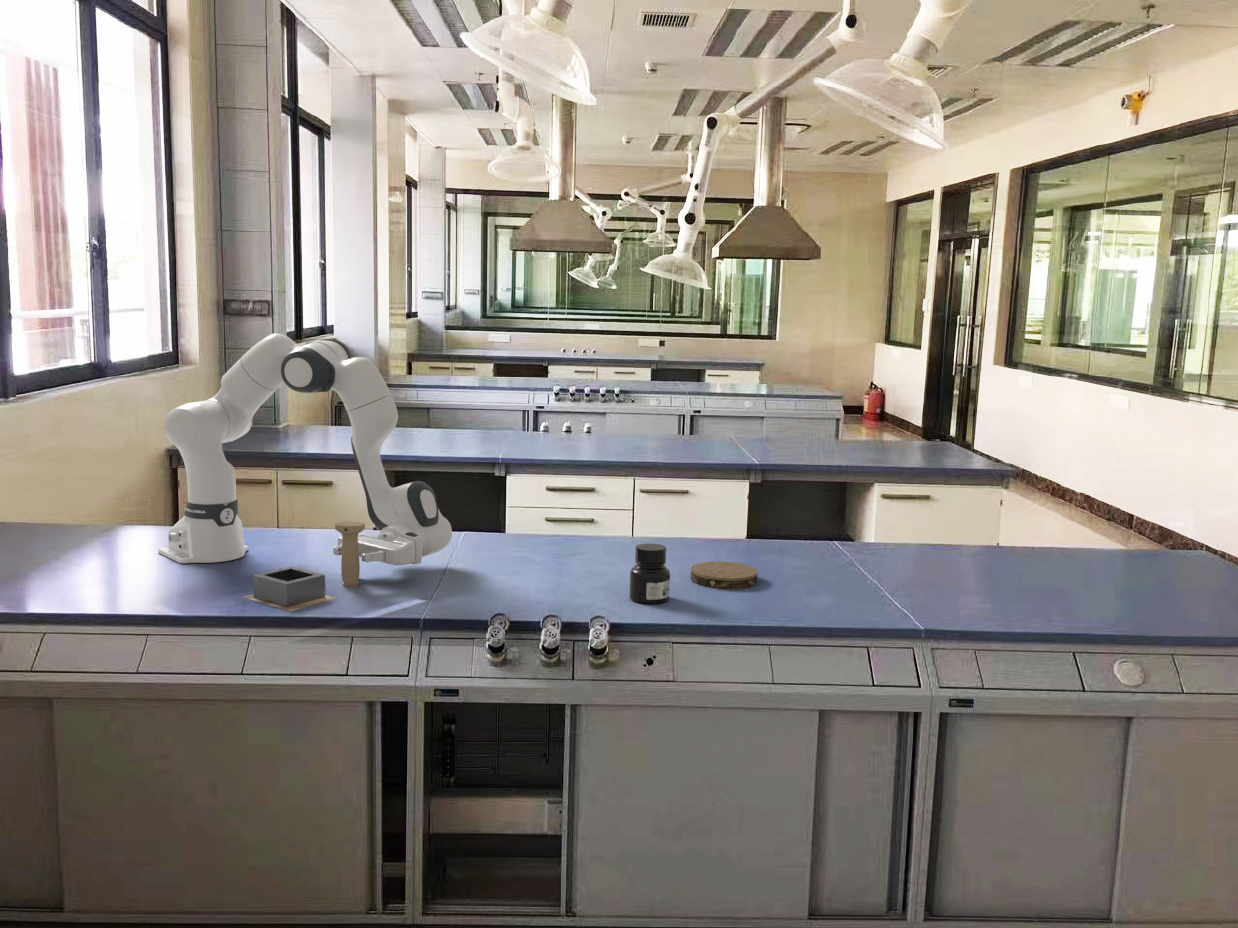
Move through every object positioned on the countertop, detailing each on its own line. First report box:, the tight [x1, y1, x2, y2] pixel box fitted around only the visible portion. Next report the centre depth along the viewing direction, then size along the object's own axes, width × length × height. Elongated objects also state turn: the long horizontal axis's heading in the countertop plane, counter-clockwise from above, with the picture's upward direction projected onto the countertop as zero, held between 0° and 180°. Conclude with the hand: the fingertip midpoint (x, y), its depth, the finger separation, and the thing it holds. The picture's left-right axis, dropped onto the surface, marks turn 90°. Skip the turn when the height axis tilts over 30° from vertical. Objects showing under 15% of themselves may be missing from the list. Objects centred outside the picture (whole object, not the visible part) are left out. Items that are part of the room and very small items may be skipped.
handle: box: [334, 521, 366, 588], centre depth 234 cm, size 5×6×15 cm
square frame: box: [252, 565, 326, 608], centre depth 224 cm, size 11×10×5 cm
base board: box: [243, 593, 338, 612], centre depth 224 cm, size 16×12×1 cm
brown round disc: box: [690, 560, 758, 591], centre depth 251 cm, size 16×16×3 cm
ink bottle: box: [629, 542, 671, 605], centre depth 233 cm, size 10×9×12 cm
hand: (349, 554), depth 234 cm, fingers open, 8 cm apart
